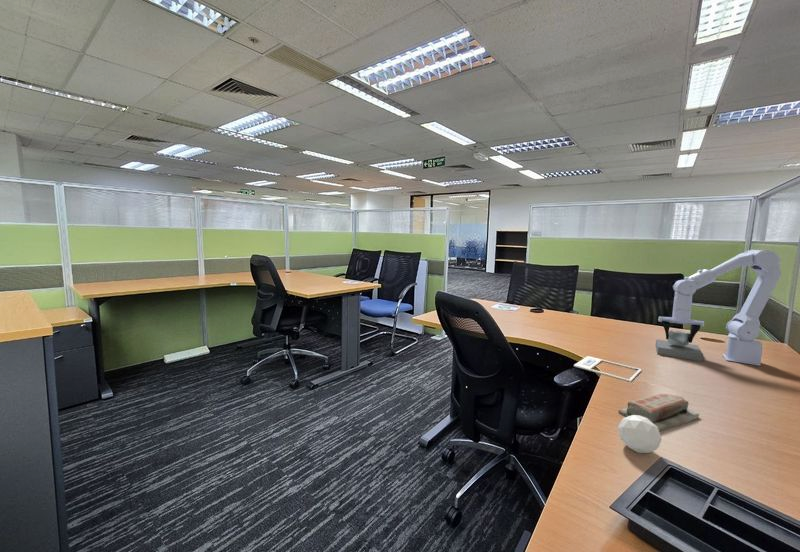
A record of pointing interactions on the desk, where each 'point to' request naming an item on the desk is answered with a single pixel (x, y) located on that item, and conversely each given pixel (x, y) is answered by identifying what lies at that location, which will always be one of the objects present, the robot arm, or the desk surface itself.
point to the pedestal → (679, 350)
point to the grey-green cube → (678, 338)
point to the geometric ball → (639, 434)
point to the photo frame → (592, 362)
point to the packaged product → (661, 410)
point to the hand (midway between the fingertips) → (678, 340)
